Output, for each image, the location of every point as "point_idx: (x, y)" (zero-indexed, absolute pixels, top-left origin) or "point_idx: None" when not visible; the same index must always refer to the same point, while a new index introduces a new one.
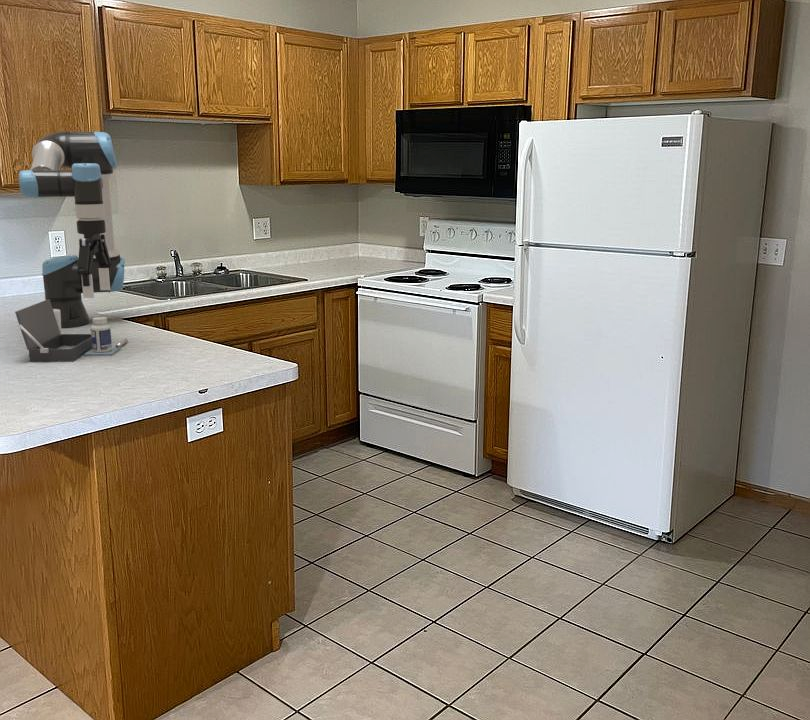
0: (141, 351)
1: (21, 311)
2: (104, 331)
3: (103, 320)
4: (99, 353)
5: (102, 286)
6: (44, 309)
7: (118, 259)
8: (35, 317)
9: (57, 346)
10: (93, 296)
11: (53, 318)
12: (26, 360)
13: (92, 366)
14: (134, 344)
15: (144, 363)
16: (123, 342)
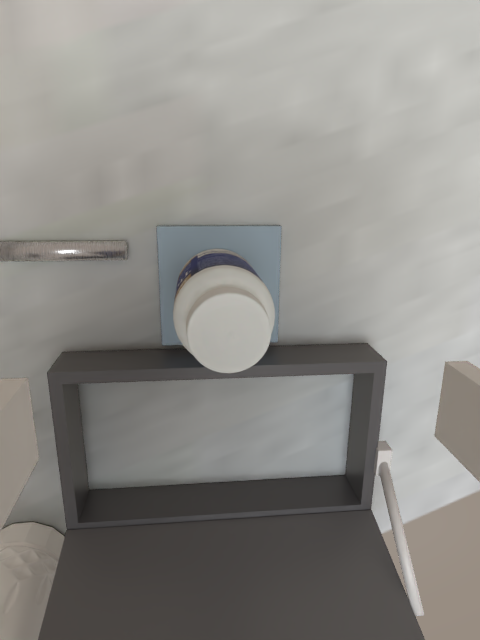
0: (188, 111)
1: None
2: (261, 280)
3: (255, 300)
4: (271, 281)
5: (24, 458)
6: None
7: None
8: (262, 632)
9: (134, 492)
10: (462, 365)
11: (71, 606)
12: None
13: (458, 239)
14: (28, 198)
15: (440, 19)
16: (57, 244)
